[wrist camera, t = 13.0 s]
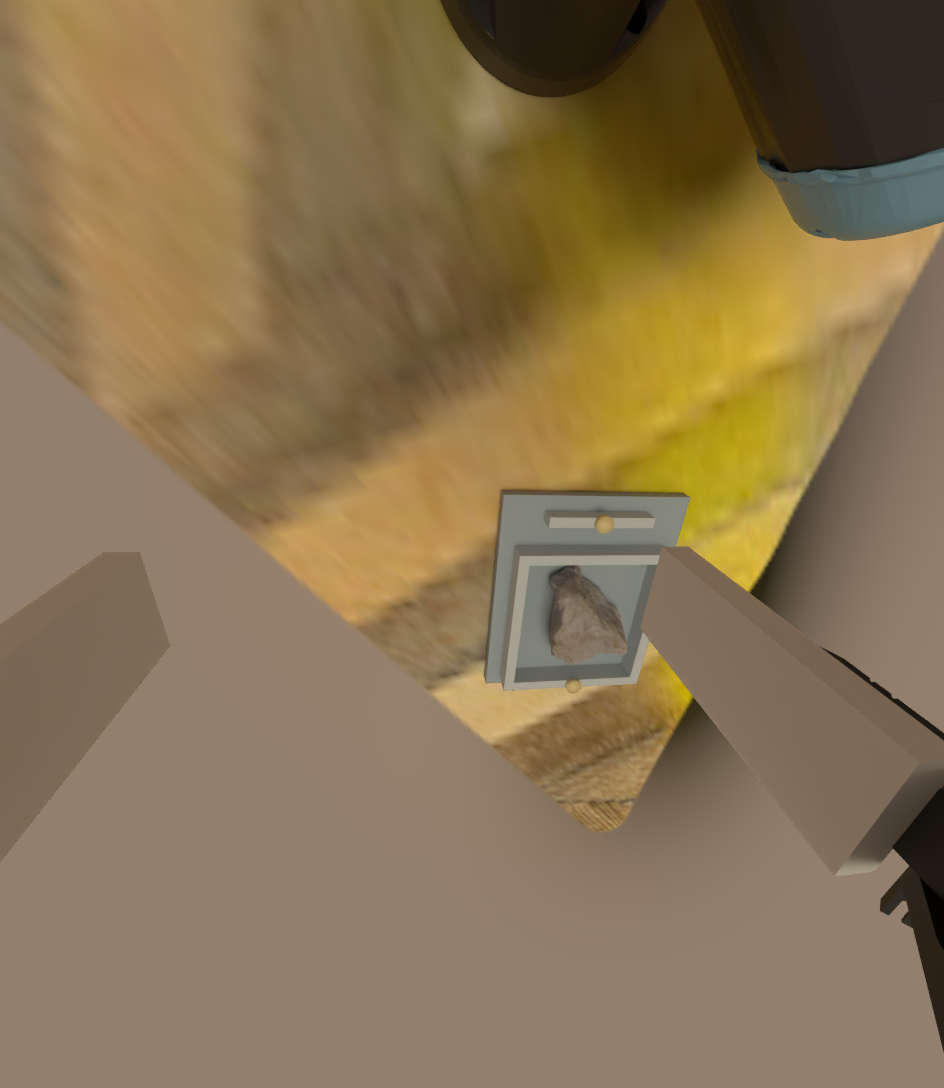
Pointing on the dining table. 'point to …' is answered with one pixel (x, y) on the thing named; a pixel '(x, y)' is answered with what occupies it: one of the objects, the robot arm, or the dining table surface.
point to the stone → (582, 620)
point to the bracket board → (605, 561)
